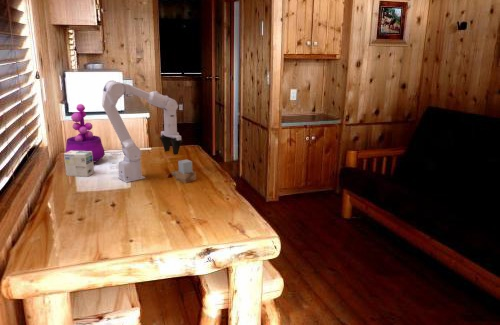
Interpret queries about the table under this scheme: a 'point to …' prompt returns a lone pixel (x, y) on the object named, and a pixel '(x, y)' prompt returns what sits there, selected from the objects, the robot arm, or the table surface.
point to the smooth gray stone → (174, 173)
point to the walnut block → (186, 176)
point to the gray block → (185, 166)
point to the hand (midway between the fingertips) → (171, 152)
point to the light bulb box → (79, 163)
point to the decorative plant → (84, 137)
